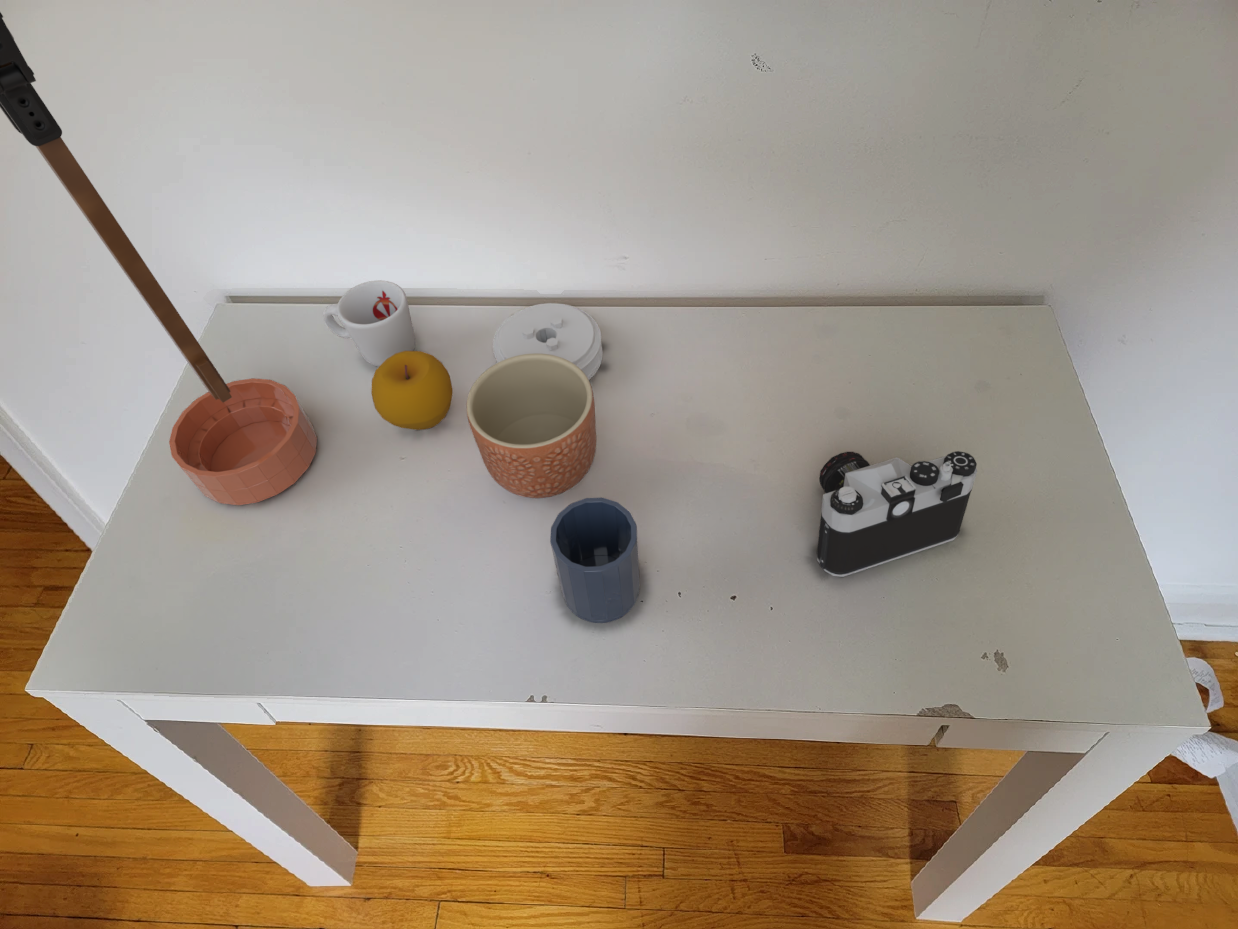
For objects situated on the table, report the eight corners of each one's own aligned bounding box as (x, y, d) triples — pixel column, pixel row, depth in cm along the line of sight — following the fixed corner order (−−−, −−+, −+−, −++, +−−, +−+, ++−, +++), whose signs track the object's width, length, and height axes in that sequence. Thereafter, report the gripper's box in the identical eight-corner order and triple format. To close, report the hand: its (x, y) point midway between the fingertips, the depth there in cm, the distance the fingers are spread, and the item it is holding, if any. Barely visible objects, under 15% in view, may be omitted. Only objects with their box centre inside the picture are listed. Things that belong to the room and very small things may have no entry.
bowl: (234, 531, 79) (206, 498, 75) (176, 461, 85) (147, 427, 81) (342, 456, 85) (322, 421, 80) (280, 396, 91) (259, 360, 86)
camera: (908, 472, 81) (923, 398, 75) (972, 543, 74) (996, 468, 67) (782, 512, 79) (786, 439, 72) (834, 589, 71) (844, 516, 65)
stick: (220, 404, 74) (-12, 73, 49) (204, 388, 76) (-29, 57, 50) (235, 395, 75) (13, 63, 49) (219, 379, 76) (-4, 48, 51)
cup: (326, 370, 93) (301, 321, 86) (351, 325, 97) (328, 275, 91) (411, 378, 91) (392, 329, 85) (431, 332, 96) (415, 281, 90)
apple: (396, 459, 84) (371, 406, 77) (378, 407, 89) (353, 352, 82) (470, 432, 86) (453, 378, 79) (448, 382, 91) (430, 327, 84)
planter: (462, 480, 82) (438, 413, 73) (533, 405, 88) (519, 335, 79) (554, 533, 77) (540, 469, 69) (623, 451, 83) (618, 382, 75)
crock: (600, 638, 70) (592, 588, 62) (546, 589, 74) (532, 534, 66) (655, 586, 73) (654, 531, 65) (601, 540, 77) (594, 483, 69)
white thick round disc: (483, 345, 94) (475, 314, 90) (578, 312, 97) (574, 281, 93) (519, 415, 87) (512, 385, 83) (620, 378, 90) (618, 347, 86)
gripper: (-282, -183, 42) (-45, 122, 55) (-230, -133, 35) (22, 196, 49) (-131, -216, 44) (58, 82, 58) (-58, -175, 38) (134, 147, 52)
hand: (41, 133), depth 54 cm, fingers closed on stick, 1 cm apart
